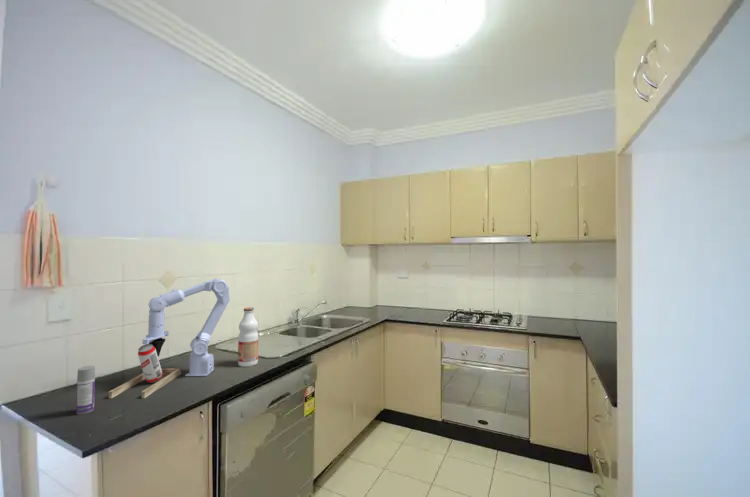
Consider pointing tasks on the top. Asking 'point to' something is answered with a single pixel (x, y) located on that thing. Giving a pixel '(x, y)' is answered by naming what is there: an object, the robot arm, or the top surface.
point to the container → (85, 389)
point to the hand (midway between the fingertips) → (155, 356)
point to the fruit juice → (248, 339)
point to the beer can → (150, 363)
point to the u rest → (171, 375)
